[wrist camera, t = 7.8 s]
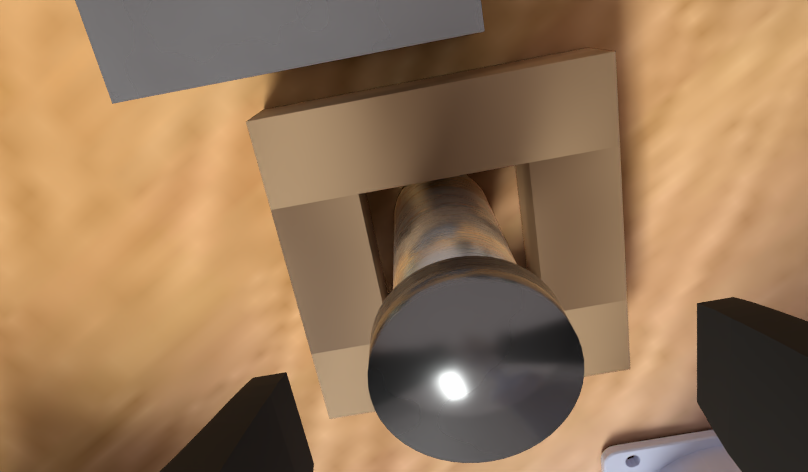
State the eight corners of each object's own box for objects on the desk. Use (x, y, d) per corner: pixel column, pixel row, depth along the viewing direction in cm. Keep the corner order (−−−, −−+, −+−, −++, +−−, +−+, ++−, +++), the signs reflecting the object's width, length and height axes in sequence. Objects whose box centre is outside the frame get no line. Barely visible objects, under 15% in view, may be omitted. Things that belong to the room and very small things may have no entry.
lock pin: (492, 143, 16) (573, 262, 9) (509, 257, 17) (592, 444, 10) (368, 169, 16) (344, 305, 9) (394, 279, 18) (392, 477, 10)
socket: (587, 47, 15) (615, 51, 13) (605, 333, 18) (630, 369, 17) (263, 109, 16) (245, 121, 14) (335, 379, 19) (329, 418, 17)
